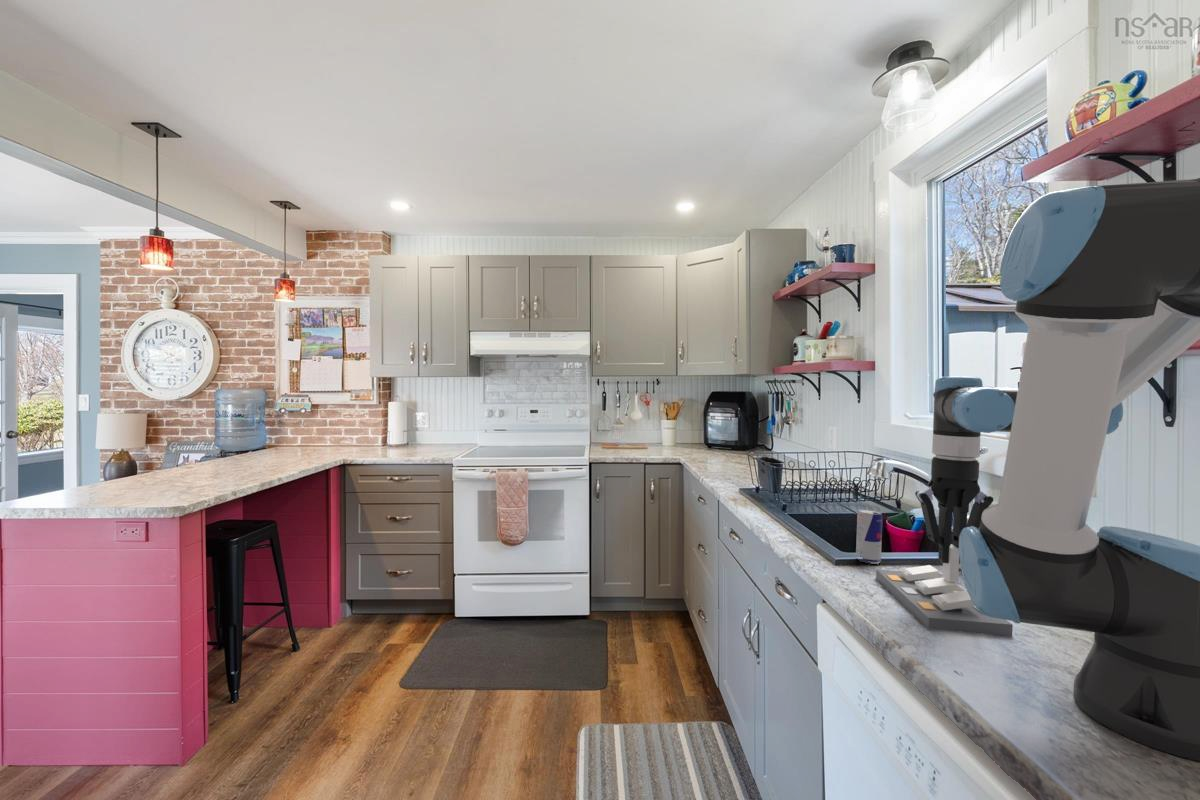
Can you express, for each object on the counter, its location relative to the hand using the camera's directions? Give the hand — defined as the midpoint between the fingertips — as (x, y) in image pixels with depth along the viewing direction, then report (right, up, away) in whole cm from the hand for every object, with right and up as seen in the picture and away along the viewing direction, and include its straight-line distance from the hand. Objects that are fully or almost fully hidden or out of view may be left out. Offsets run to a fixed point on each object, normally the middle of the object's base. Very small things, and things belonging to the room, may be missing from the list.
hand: (950, 579), depth 100 cm
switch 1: (-1, -1, +7) cm, 7 cm away
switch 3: (-4, -1, -7) cm, 8 cm away
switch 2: (-3, -1, 0) cm, 3 cm away
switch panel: (-3, -5, 0) cm, 5 cm away
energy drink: (-3, -4, +25) cm, 25 cm away
